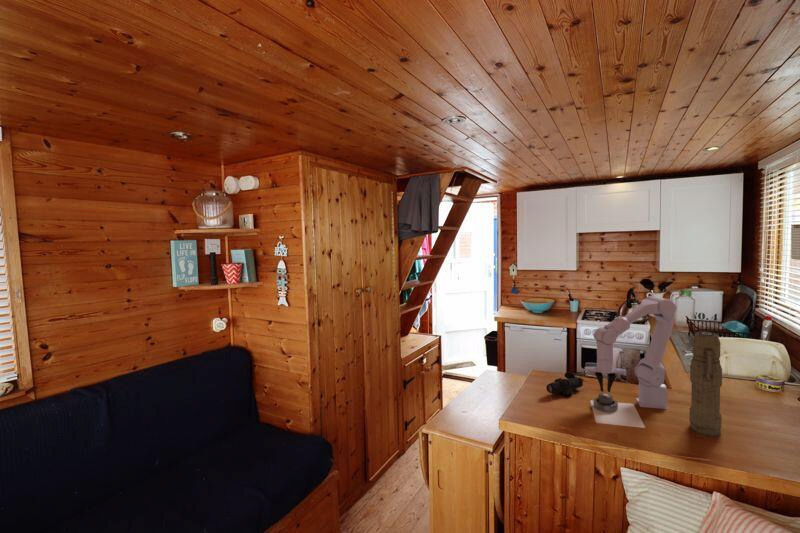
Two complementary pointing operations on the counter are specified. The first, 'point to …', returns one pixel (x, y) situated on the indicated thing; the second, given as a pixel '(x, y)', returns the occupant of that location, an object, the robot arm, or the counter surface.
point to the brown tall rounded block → (706, 385)
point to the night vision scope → (565, 384)
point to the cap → (605, 399)
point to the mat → (619, 416)
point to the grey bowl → (605, 406)
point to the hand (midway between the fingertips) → (605, 390)
